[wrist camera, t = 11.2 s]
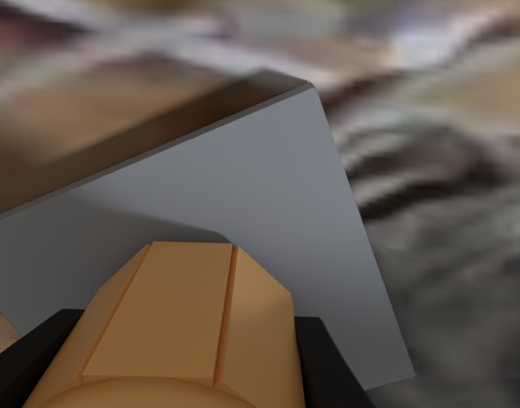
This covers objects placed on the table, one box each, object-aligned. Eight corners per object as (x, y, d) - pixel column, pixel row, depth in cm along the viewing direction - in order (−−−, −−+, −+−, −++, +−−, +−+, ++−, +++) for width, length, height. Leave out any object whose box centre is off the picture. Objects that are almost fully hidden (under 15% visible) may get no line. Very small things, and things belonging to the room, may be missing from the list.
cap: (329, 328, 10) (375, 530, 6) (201, 417, 12) (166, 632, 7) (191, 202, 9) (125, 352, 5) (64, 321, 10) (-76, 519, 6)
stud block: (310, 81, 9) (348, 117, 5) (404, 350, 12) (475, 507, 8) (-30, 226, 11) (-212, 344, 7) (134, 431, 14) (80, 596, 10)
